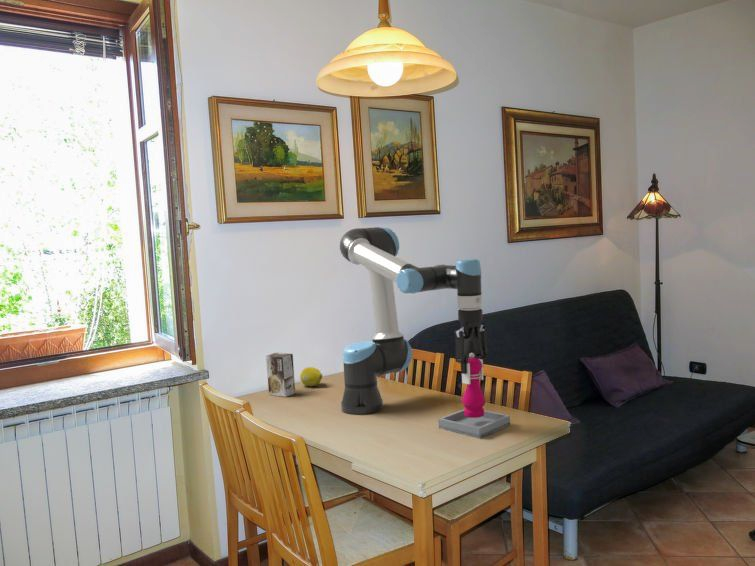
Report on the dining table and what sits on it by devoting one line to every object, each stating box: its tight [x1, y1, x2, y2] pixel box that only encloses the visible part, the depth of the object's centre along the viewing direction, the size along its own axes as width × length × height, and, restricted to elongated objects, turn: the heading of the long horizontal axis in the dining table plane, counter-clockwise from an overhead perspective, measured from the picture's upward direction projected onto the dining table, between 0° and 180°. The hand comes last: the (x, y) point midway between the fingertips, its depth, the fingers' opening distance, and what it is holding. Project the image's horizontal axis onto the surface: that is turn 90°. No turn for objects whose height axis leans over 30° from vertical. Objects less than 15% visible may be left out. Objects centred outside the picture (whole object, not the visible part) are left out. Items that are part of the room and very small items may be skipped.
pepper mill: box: [461, 352, 486, 418], centre depth 196 cm, size 7×7×20 cm
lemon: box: [299, 366, 323, 387], centre depth 259 cm, size 11×8×8 cm
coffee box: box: [265, 352, 296, 398], centre depth 248 cm, size 9×6×16 cm
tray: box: [438, 408, 511, 439], centre depth 197 cm, size 16×16×3 cm
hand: (472, 381), depth 196 cm, fingers closed on pepper mill, 6 cm apart
